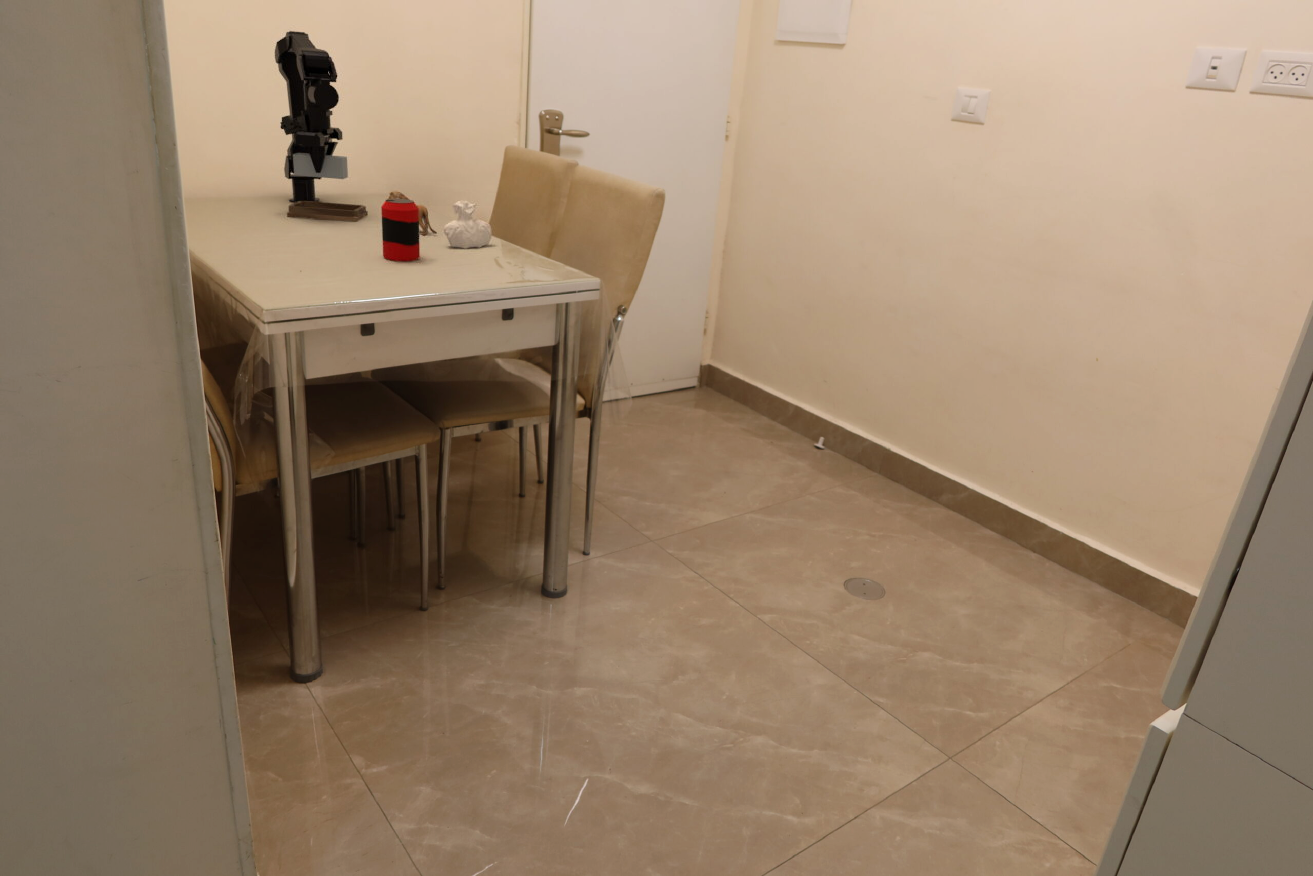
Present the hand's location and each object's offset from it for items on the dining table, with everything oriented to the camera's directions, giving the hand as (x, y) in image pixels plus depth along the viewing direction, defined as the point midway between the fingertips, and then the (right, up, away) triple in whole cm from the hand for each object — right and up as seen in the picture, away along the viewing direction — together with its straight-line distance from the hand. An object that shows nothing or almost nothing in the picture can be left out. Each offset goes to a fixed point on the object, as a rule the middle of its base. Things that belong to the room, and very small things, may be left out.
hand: (321, 171), depth 227 cm
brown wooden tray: (0, -10, +5) cm, 11 cm away
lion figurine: (+24, -16, -5) cm, 29 cm away
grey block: (0, -1, 0) cm, 1 cm away
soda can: (+29, -28, -33) cm, 52 cm away
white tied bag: (+40, -22, -16) cm, 48 cm away
